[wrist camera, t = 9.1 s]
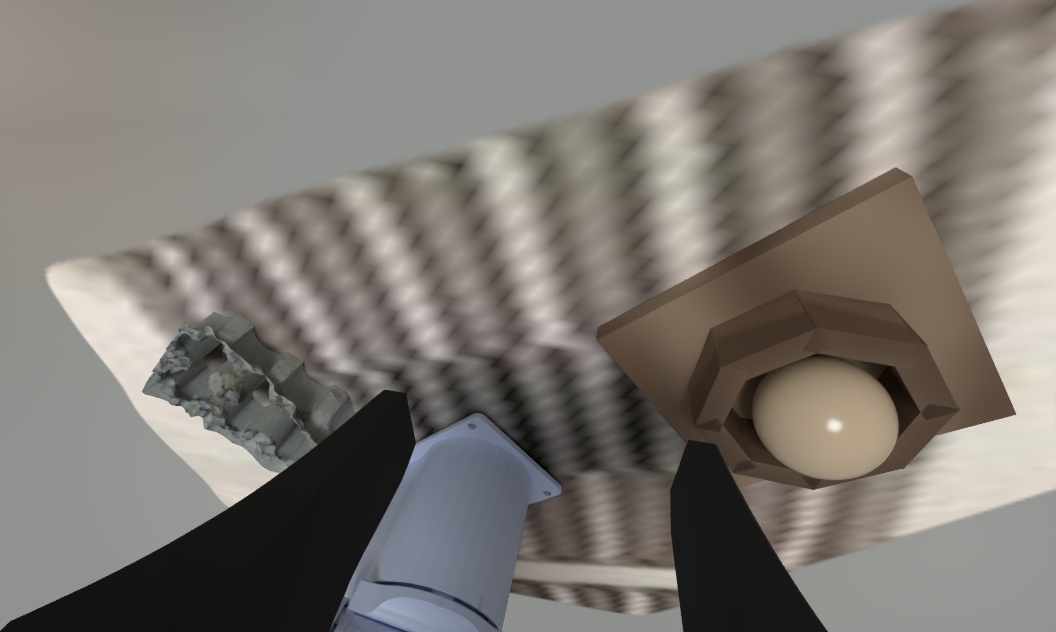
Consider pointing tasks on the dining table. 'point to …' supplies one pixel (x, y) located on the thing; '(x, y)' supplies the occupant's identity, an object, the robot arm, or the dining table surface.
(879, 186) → the egg stand
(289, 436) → the egg carton
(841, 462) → the egg
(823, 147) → the dining table surface
